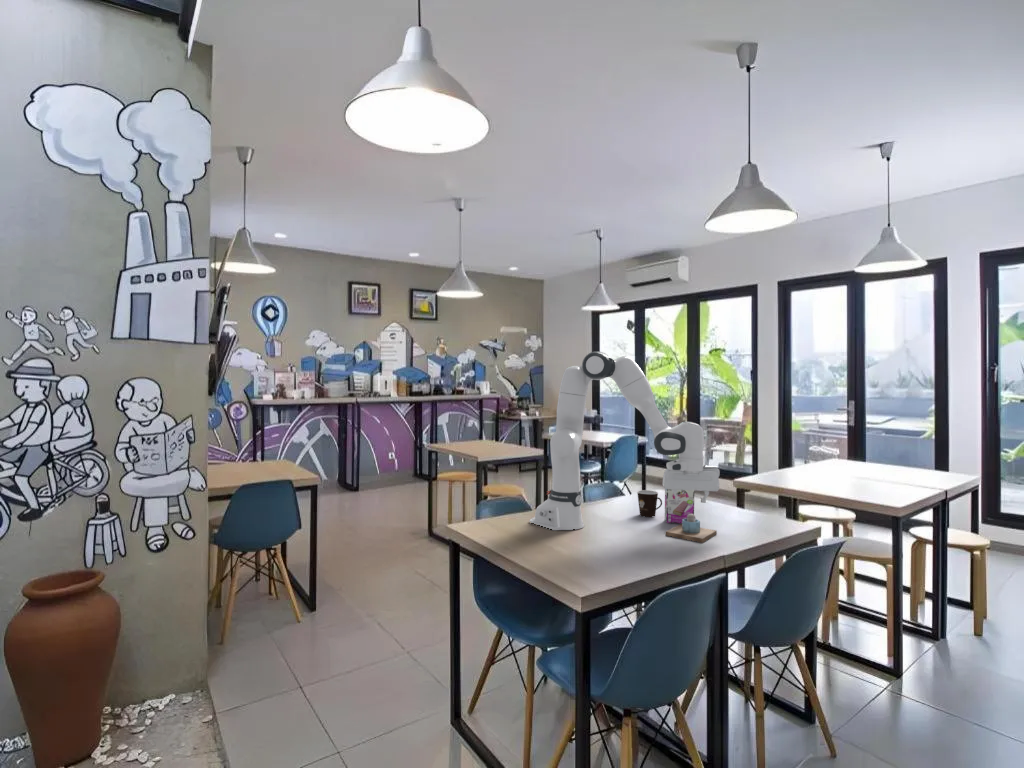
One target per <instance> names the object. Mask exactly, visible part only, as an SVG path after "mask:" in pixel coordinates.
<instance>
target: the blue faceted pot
mask: <svg viewBox="0 0 1024 768" xmlns="http://www.w3.org/2000/svg"><path fill="white" fill-rule="evenodd" d="M681 524H682V530H683V532H687V533H699V532H700V528H701V521H700V520H699V519H697V518H695V522H688V521H687V518H685V519H682V523H681Z"/></svg>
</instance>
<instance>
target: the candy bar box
mask: <svg viewBox="0 0 1024 768" xmlns="http://www.w3.org/2000/svg"><path fill="white" fill-rule="evenodd" d="M675 493H676V492H675ZM676 495H677V496H679V497H680V499H679V500H680V502H676V501H675V496H674V494H673V492H672V489H665V488H664V521H665V523H666V524H682V519H685V518H687V516H688V514H694V515H695V490H677V493H676Z"/></svg>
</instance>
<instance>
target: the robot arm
mask: <svg viewBox="0 0 1024 768" xmlns="http://www.w3.org/2000/svg"><path fill="white" fill-rule="evenodd" d="M606 378H610V379H612V380H613V382H615V384H616V386H617V388H618V389H619V391H620V392H621V394H622V396H623V397H624V399H625V400H626V401H627V402H628V403H629V404H630V405H631V406H632V407H634V408H636V409H637V410H638V411H639V412H640V413H641V414H642V416H643V418H644V419H645V421H646V422H647V424H648V426H649V427H650V429H651V431H652V433H653V445H654V449H655V450H656V451H657V453H659V454H660V455H662V456H666V457H667V456H674V455H675V456H676V455H678V459H676V460H671V461H667V462H666V463H665V464H666V468H665V470H664V472H663V475H662V487H663V488H664V490H665V489H672V492H673V494H674V496H675V501H676V502H680V500H679V499H680V497H679V496H677V495H676V493H677V490H694V492H695V491H698V492H699V491H701V492H703V493H704V495H703V496H702V497H701V496H700V503H702V504H705V503H707V498H708V496H709V495H710V492H718V491H719V490H720V481H719V477H720V475H721V474H720V472H721V470H720V469H719V468H718V467H717V466H715V465H704V461H705V460H704V459H705V457H704V452H703V451H704V448H705V433H704V428H703V427H702V426H701V425H700V424H698V423H696V422H693V421H682V422H680V423H679V424H678V425H675V426H672V427H671V425H669V424H668V423H667V421H666V420H665V418H664V416H663V415H662V413H661V412H660V410H659V408H658V407H657V404H656V401H655V396H654V394H653V393H654V391H653V390H652V387H651V385H650V383H649V380H648V377H647V376H646V374H645V373H644V371H643V370H642V369H641V367H640V366H639V364H637V362H636V361H635V360H634V358H632V357H631V356H628V355H624V356H619V357H618V358H616V359H614V358H612V357H610V355H608V354H607V353H606V352H604V351H592V352H590V353H589V352H588V353H587V354H586V355H585V357H584V358H583V360H582V364H581V365H572V366H569V367H567V368H565V369H564V372H563V375H562V378H561V381H560V386H559V392H558V398H557V406H556V425H555V432H554V433H553V434H552V435H551V437H550V443H549V444H550V446H549V447H550V458H551V468H552V469H551V471H552V475H551V477H552V478H551V479H552V485H551V486H552V489H550V490H547V491H546V495H549V496H548V498H547V499H546V500H544V501H542V503H541V504H539V505H538V506H537V507H536V509H535V513H534V517H531V518H530V519H529V522H531V523H534V524H537V525H540V526H539V527H541V526H543V527H542V528H544V527H546V528H545V529H547V528H549V529H548V530H550V529H552V530H551V531H574V530H573V529H575V530H579V529H583V528H584V527H585V524H584V521H583V515H582V507H581V505H582V490H581V466H580V465H581V464H580V454H579V451H580V449H581V448H580V447H581V446H582V444H583V443H582V442H583V435H584V434H583V433H584V420H585V411H586V403H587V396H588V389H589V385H590V383H591V382H592V381H601V380H604V379H606ZM675 492H676V493H675ZM531 523H530V524H531ZM534 524H533V525H534ZM537 525H536V526H537Z"/></svg>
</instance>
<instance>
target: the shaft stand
mask: <svg viewBox="0 0 1024 768" xmlns="http://www.w3.org/2000/svg"><path fill="white" fill-rule="evenodd" d="M695 519H696V515H695V513H694V514H688V516H687V521H688V522H695ZM717 532H718V531H717V529H716V530H714V529H710V528H704V527H700V532H699V533H687V532H683V530H682V523H679V524H678V525H676V526H674V527H672V528H670V529H667V530H665V536H666V535H667V536H666V537H670V536H672V538H675V537H677V538H676V539H680V538H682V539H681V540H686V539H687V541H691V540H692V541H691V542H696V541H697V542H696V543H700V544H701V543H702V544H703V543H705V542H706V540H707V541H708V540H710V539H711V537H712V538H713V537H715V536H717V535H716V534H717ZM714 535H715V536H714ZM709 538H710V539H709Z"/></svg>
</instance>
